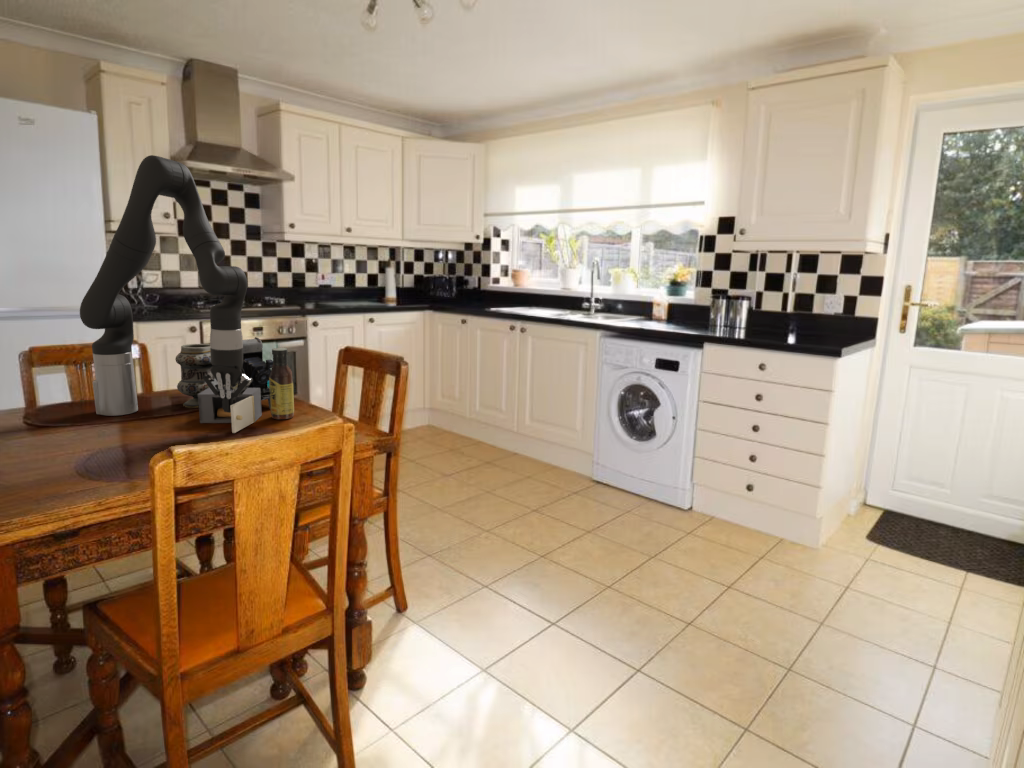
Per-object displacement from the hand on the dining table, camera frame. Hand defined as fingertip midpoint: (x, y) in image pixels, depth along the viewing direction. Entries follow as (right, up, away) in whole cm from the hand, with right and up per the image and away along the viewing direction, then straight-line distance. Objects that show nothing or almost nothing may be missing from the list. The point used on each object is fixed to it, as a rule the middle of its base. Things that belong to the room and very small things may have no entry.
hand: (228, 411), depth 158 cm
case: (-5, -3, +12) cm, 13 cm away
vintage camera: (-4, +1, +27) cm, 28 cm away
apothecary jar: (-21, +1, +26) cm, 33 cm away
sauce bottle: (+9, -3, +14) cm, 17 cm away
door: (+3, -4, +3) cm, 6 cm away
